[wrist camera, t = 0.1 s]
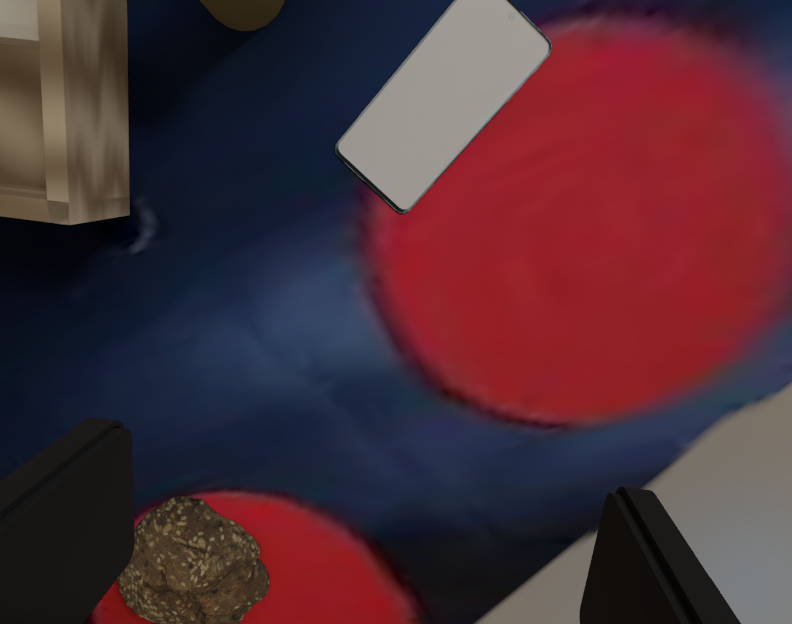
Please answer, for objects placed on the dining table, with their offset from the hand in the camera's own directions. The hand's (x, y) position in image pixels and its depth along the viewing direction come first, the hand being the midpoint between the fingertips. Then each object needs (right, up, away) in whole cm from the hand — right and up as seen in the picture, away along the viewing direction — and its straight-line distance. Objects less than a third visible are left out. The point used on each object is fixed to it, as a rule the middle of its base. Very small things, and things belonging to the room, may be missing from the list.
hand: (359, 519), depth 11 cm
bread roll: (-17, -19, +39) cm, 46 cm away
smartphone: (+4, +19, +28) cm, 34 cm away
